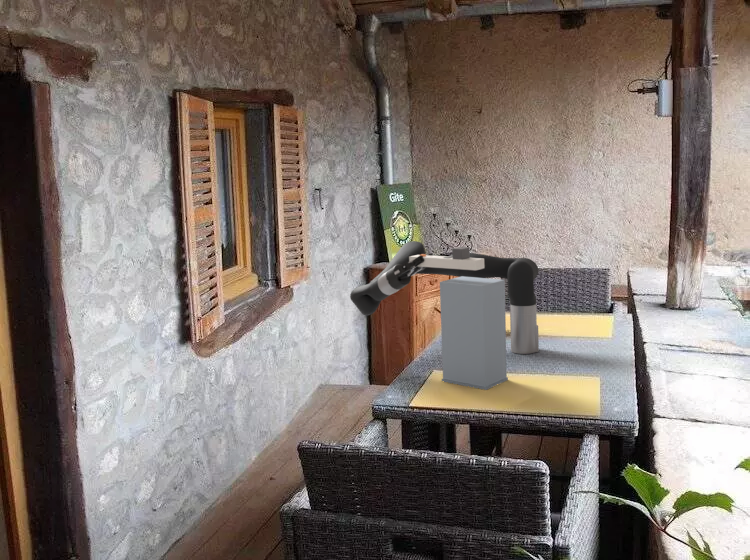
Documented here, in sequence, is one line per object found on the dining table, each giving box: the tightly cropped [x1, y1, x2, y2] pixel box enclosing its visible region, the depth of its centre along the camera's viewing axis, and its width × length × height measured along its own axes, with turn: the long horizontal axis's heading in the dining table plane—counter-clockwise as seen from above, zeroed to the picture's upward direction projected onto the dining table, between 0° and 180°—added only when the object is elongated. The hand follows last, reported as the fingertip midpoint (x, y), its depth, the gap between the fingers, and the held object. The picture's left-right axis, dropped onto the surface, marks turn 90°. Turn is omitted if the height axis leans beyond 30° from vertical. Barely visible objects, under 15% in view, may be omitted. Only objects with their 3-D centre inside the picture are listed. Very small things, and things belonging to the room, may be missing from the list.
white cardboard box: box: [409, 246, 484, 270], centre depth 243 cm, size 26×4×6 cm, turn 48°
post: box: [439, 276, 509, 391], centre depth 241 cm, size 17×13×32 cm
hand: (427, 257), depth 248 cm, fingers closed on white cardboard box, 4 cm apart
